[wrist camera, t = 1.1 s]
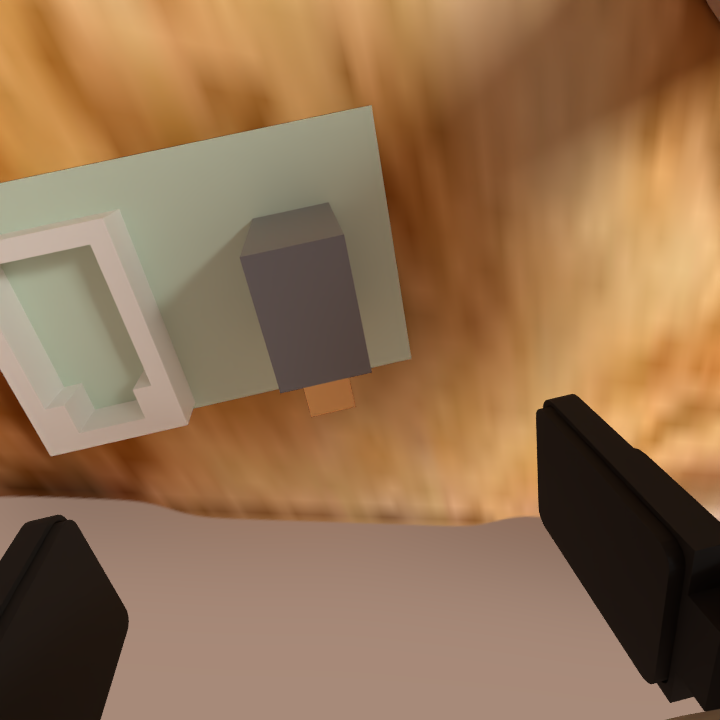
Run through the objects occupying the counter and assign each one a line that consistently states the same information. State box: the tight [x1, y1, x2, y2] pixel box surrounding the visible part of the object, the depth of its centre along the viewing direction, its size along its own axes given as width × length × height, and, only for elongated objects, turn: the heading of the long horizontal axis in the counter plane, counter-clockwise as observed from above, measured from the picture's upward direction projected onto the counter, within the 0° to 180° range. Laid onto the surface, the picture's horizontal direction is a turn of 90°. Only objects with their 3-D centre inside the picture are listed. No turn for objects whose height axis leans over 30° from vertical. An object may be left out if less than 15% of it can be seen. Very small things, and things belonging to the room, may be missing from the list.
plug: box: [240, 202, 372, 417], centre depth 24 cm, size 4×8×8 cm, turn 11°
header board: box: [0, 105, 411, 456], centre depth 27 cm, size 22×14×4 cm, turn 101°
